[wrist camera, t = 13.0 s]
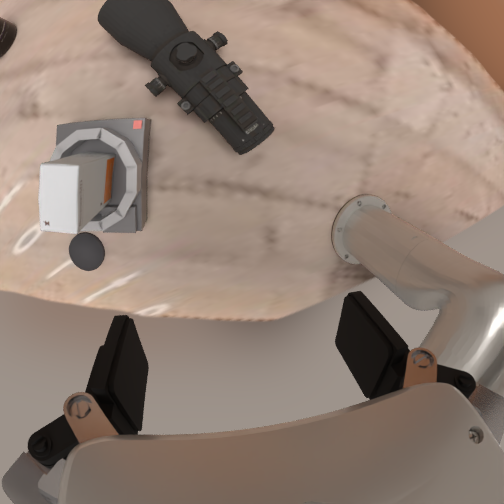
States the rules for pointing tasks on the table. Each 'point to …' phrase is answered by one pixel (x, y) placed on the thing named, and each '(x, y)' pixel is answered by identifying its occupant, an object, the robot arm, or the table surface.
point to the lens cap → (86, 251)
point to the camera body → (125, 167)
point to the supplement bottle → (6, 35)
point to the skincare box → (74, 190)
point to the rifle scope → (188, 68)
